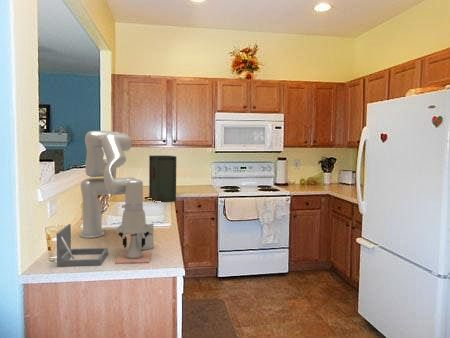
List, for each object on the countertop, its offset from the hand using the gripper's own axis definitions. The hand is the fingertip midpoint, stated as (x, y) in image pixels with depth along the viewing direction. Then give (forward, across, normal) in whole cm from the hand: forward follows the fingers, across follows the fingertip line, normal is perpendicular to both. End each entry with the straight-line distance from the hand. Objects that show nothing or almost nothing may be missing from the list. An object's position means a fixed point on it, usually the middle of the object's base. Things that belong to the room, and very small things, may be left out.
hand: (134, 246), depth 153 cm
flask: (+5, 0, 0) cm, 5 cm away
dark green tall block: (+6, +7, +153) cm, 153 cm away
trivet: (+5, 0, 0) cm, 5 cm away
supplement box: (+6, +3, +15) cm, 16 cm away
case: (+5, -21, 0) cm, 22 cm away
